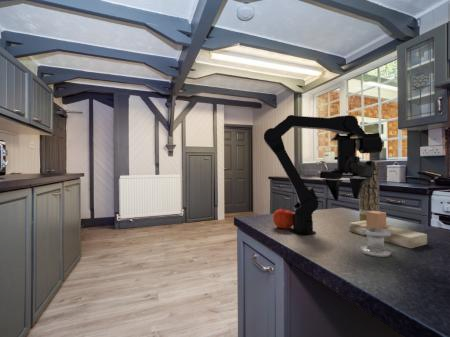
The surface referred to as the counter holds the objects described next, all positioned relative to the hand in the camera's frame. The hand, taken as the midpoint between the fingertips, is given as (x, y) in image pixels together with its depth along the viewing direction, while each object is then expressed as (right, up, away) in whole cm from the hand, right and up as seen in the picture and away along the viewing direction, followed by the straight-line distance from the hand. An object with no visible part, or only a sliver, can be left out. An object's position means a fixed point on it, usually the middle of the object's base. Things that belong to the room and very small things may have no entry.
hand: (346, 199), depth 84 cm
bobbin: (-1, -12, -18) cm, 21 cm away
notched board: (+11, -12, -4) cm, 16 cm away
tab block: (+9, -12, -3) cm, 15 cm away
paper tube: (+16, -12, +14) cm, 24 cm away
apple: (-19, -12, +9) cm, 25 cm away
